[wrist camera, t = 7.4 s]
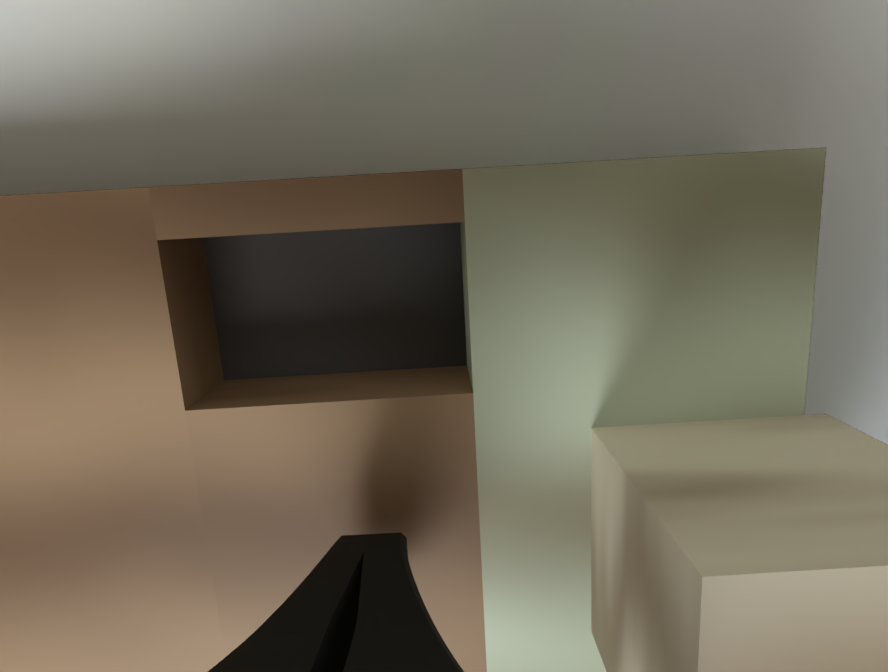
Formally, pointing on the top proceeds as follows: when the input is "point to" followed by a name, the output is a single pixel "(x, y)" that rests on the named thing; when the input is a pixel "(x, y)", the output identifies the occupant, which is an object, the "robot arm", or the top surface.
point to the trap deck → (368, 388)
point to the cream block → (740, 546)
